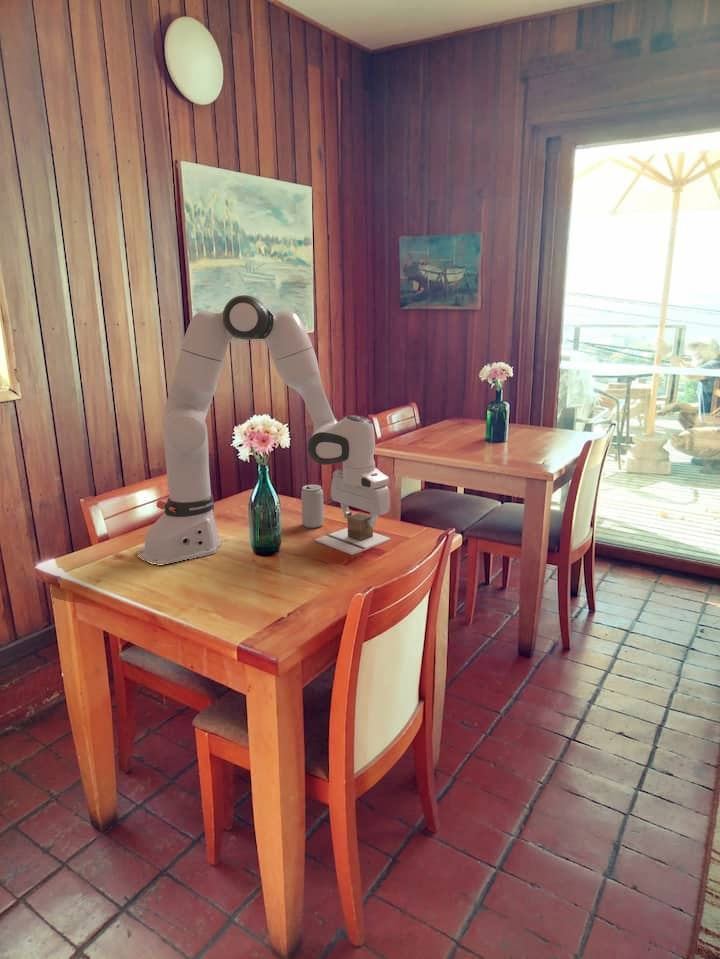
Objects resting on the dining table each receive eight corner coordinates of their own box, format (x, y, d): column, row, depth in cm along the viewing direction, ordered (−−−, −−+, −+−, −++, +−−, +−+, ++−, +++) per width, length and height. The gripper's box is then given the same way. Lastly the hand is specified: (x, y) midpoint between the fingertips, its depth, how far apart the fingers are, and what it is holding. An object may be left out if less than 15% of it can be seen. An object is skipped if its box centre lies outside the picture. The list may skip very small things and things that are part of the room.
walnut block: (360, 541, 182) (359, 521, 180) (347, 536, 185) (347, 516, 184) (372, 536, 185) (372, 516, 184) (360, 532, 189) (360, 512, 187)
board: (352, 555, 174) (352, 552, 174) (315, 540, 184) (315, 538, 184) (390, 539, 184) (390, 537, 184) (353, 527, 194) (353, 525, 194)
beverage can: (299, 523, 198) (297, 485, 195) (319, 520, 200) (318, 482, 197) (306, 530, 192) (305, 491, 189) (327, 526, 195) (326, 488, 192)
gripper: (325, 469, 185) (326, 516, 189) (377, 484, 171) (377, 534, 175) (341, 465, 189) (342, 511, 193) (393, 479, 175) (393, 528, 179)
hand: (359, 522), depth 184 cm, fingers open, 8 cm apart
